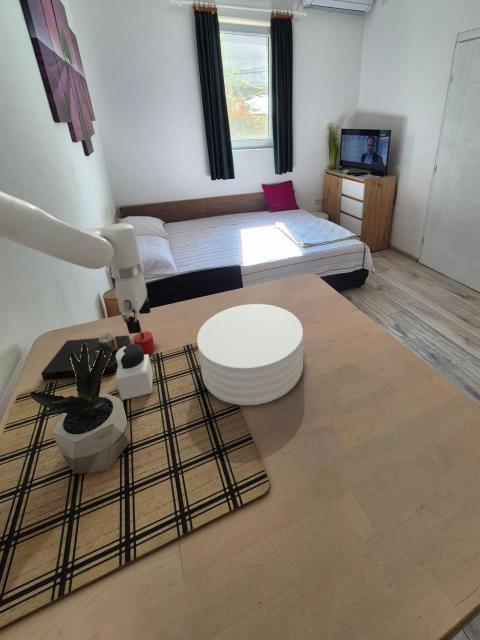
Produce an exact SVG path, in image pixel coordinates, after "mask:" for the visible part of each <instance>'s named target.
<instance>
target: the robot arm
mask: <svg viewBox="0 0 480 640" xmlns="http://www.w3.org/2000/svg"><path fill="white" fill-rule="evenodd" d="M0 237H1V238H3V239H6V240H8V241H9V240H10V241H12V242H14V243H16V244H18V245H21V246H22V247H23V246H24V247H27V248H29V249H32V250H34V251H37V252H40V253H43V254H45V255H48V256H50V257H53V258H55V259H58V260H61V261H64V262H66V263H69V264H73V265H76V266H79V267H82V268H86V269H91V270H99V269H100V270H101V269H103V268H105V267H108V265H109V266H110V270H111V273H112V278H113V279H114V287H115V293H116V301H117V304H118V308H119V312H120V314H121V317H122V318H123V321H124V322H125V323H126V328H127V332H128V333H129V334H131V335H132V334H138V333H141V332H142V327H141V323H140V319H138V313H139V315H145V314H150V313H151V311H152V310H151V307H150V303H149V302H150V301H149V297H148V289H147V285H146V281H145V278H144V272H145V271H144V266H143V261H142V257H141V253H140V248H139V243H138V239H137V235H136V231H135V227H134V226H133V225H132V224H130V223H126V222H119V223H113V224H110V225H107V226H103V227H95V228H83V229H80V228H77V227H75V226H73V225H71V224H68V223H66V222H64V221H62V220H60V219H58V218H57V217H54V216H53V215H51V214H50V213H48V212H46V211H45V210H43V209H41V208H40V207H39V206H36V205H34V204H32V203H30V202H27V201H26V200H23V199H20V198H18V197H16V196H13V195H11V194H8V193H6V192H4V191H1V190H0ZM131 314H133V315H131Z"/></svg>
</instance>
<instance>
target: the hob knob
mask: <svg viewBox="0 0 480 640" xmlns="http://www.w3.org/2000/svg"><path fill="white" fill-rule="evenodd" d="M115 336H116V335H115V334H113V333H110V332H106V334H103V335H101V336H100V337H98V338H99V343H100V347H101V349H103V351H104V355H107V354H108V353H109V352H110V350H111V349H113V351H112V354H113V353H115V352H116V351H117V349H118V347H117V344H116V340H115Z"/></svg>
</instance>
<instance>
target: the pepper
mask: <svg viewBox="0 0 480 640" xmlns="http://www.w3.org/2000/svg"><path fill="white" fill-rule="evenodd" d="M132 341H133V344H137V345H140V346H141V347H142V349H143V354H144V355H146V354H148V355H151V354H153V353H154V351H155V350H156V346H155V340H154V337H153V333H152V332H150V331H141V332H140V333H136V334H135V335H134V336H133V339H132Z"/></svg>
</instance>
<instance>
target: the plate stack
mask: <svg viewBox="0 0 480 640" xmlns="http://www.w3.org/2000/svg"><path fill="white" fill-rule="evenodd" d="M196 344H197V350H198V357H199V363H200V370H201V377H202V381H203V384H204V387H205V388H206V389H207V391H208V392H209V393H210V394H211V395H213V396H214V397H215V398H217V399H218V400H221V401H222V402H226V403H228V404H232V405H238V406H257V405H262V404H266V403H270V402H273V401H274V400H277V399H280V398H281V397H283V396H285V395H286V394H288V392H290V391H291V390H292V389H294V387H295V386H296V385H297V383H298V382H299V380H300V378H301V376H302V373H303V369H304V328H303V325H302V323H301V321H300V320H299V319H298V317H297V316H296V315H295V314H293V313H292V312H290V311H289V310H287V309H285V308H282V307H279V306H276V305H273V304H272V305H271V304H266V303H264V304H263V303H250V304H241V305H237V306H232V307H230V308H229V307H228V308H227V309H224V310H222V311H219V312H217V313H216V314H214V315H212V316H211V317H210V318H208V319H207V320H206V321H205V322H204V323H203V324H202V326H201V327H200V328H199V330H198V333H197V337H196Z"/></svg>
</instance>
